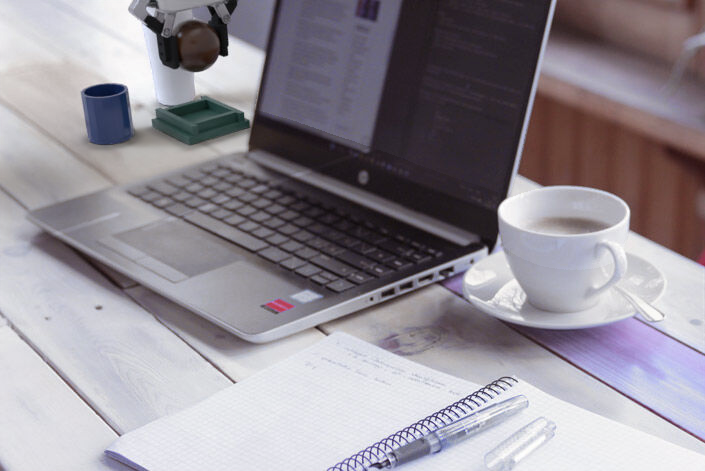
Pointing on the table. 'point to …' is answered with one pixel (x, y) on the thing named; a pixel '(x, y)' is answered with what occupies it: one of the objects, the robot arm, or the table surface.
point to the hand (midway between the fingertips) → (195, 59)
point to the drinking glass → (169, 69)
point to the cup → (107, 113)
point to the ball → (196, 45)
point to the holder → (199, 120)
